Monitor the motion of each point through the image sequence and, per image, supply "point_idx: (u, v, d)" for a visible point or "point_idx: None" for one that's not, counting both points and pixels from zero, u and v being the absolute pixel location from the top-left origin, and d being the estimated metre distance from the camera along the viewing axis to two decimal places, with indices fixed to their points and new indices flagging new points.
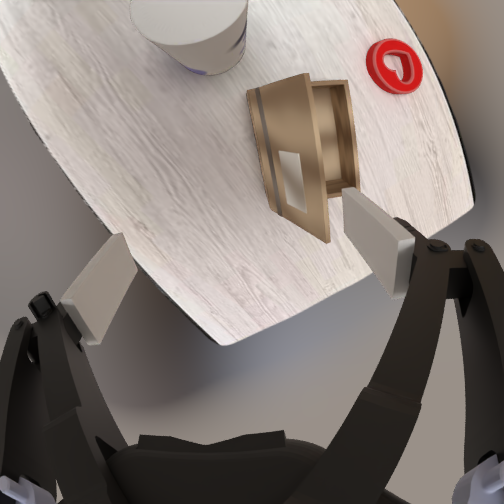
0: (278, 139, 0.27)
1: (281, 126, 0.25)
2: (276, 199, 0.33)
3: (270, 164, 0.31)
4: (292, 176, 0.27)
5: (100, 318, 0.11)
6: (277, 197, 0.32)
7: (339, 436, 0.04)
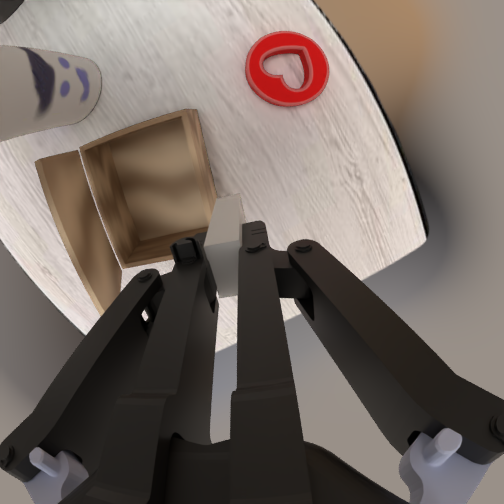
0: None
1: None
2: None
3: None
4: None
5: None
6: None
7: (234, 439, 0.04)
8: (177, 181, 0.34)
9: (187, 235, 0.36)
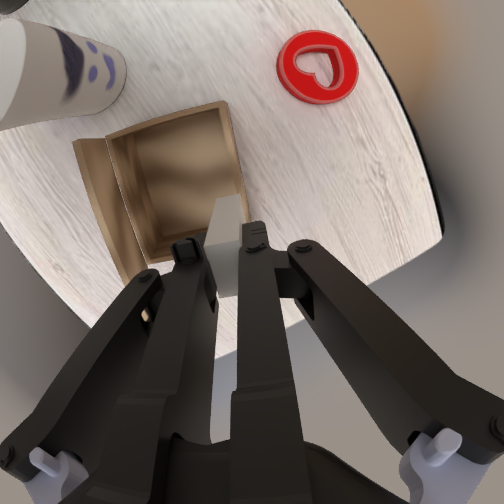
0: None
1: None
2: None
3: None
4: None
5: None
6: None
7: (234, 439, 0.04)
8: (205, 175, 0.34)
9: None
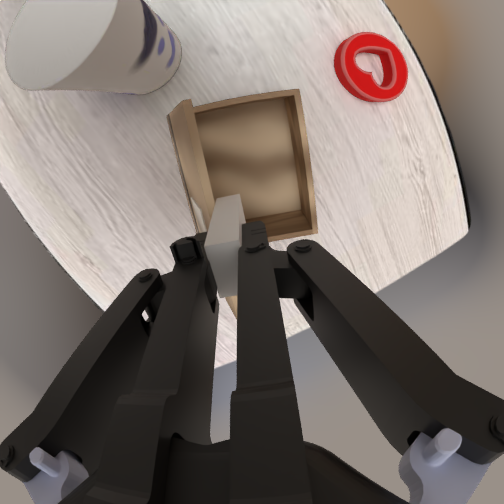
0: (188, 183, 0.21)
1: (186, 168, 0.20)
2: None
3: (191, 209, 0.25)
4: None
5: None
6: None
7: (234, 439, 0.04)
8: (264, 163, 0.33)
9: (272, 219, 0.35)
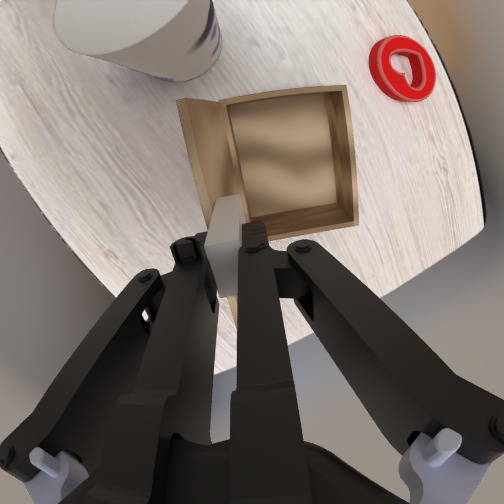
0: None
1: None
2: None
3: None
4: None
5: None
6: None
7: (234, 439, 0.04)
8: (303, 156, 0.33)
9: (310, 212, 0.35)
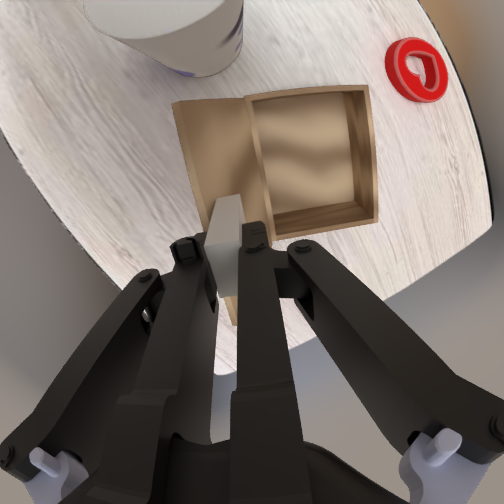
0: None
1: None
2: None
3: None
4: None
5: None
6: None
7: (234, 439, 0.04)
8: (323, 154, 0.33)
9: (329, 209, 0.35)
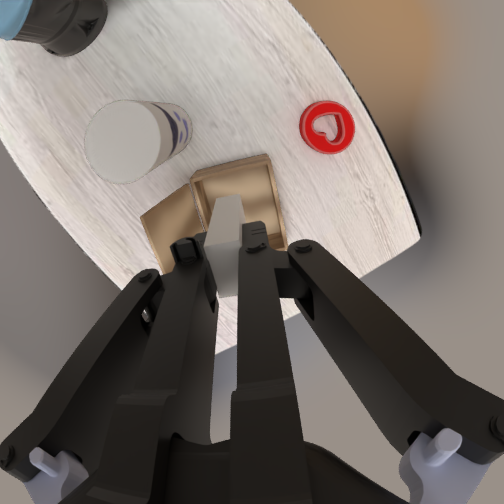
0: None
1: None
2: None
3: None
4: None
5: None
6: None
7: (234, 439, 0.04)
8: (253, 202, 0.51)
9: None
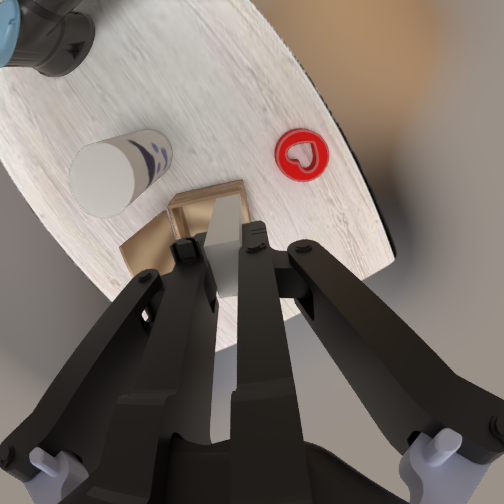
0: None
1: None
2: None
3: None
4: None
5: None
6: None
7: (234, 439, 0.04)
8: None
9: None
